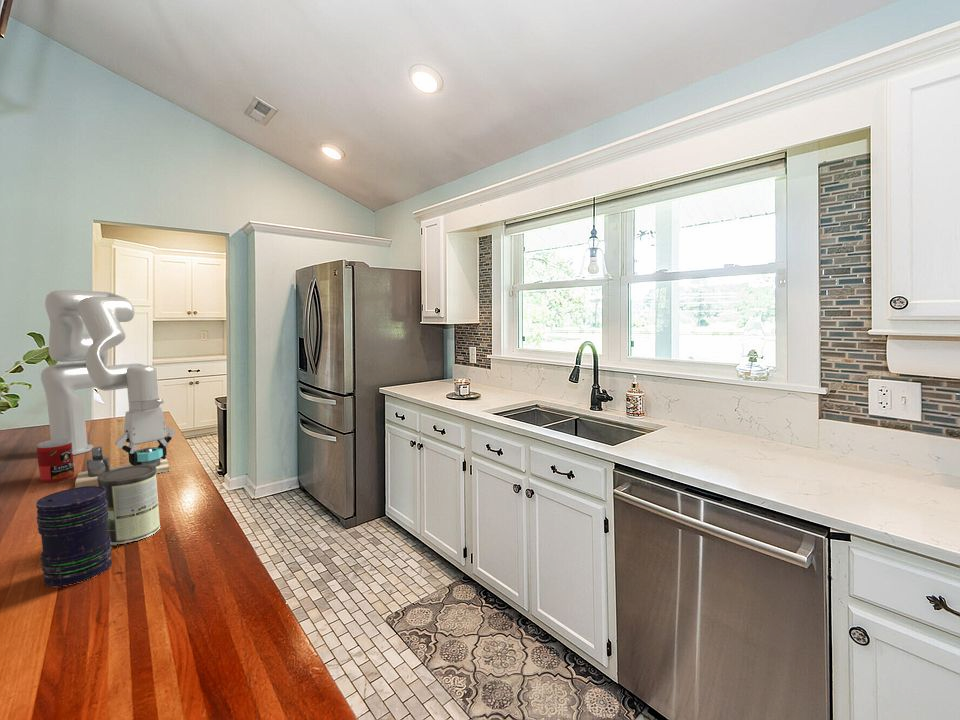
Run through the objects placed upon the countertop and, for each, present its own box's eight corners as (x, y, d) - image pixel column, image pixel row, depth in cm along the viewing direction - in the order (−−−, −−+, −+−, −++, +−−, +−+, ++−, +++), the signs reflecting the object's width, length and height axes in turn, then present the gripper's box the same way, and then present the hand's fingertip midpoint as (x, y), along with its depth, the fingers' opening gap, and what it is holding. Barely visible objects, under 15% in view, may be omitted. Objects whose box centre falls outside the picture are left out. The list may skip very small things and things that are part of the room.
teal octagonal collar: (130, 459, 142) (129, 451, 142) (155, 453, 148) (154, 446, 148) (140, 463, 139) (140, 455, 138) (166, 456, 145) (165, 449, 144)
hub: (136, 465, 144) (135, 448, 144) (160, 461, 148) (158, 444, 147) (136, 470, 140) (135, 452, 139) (160, 466, 143) (159, 449, 143)
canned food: (54, 483, 133) (50, 446, 132) (32, 481, 135) (28, 445, 134) (81, 474, 141) (78, 439, 140) (60, 472, 142) (57, 438, 141)
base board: (79, 477, 138) (78, 472, 138) (167, 462, 151) (167, 458, 151) (75, 488, 129) (74, 483, 129) (169, 471, 142) (169, 467, 142)
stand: (88, 473, 137) (86, 447, 136) (110, 470, 140) (108, 444, 139) (87, 478, 133) (85, 451, 132) (109, 474, 136) (107, 448, 135)
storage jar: (109, 553, 94) (103, 482, 92) (116, 572, 87) (109, 495, 85) (42, 572, 87) (34, 495, 85) (43, 594, 80) (35, 511, 78)
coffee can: (90, 547, 96) (84, 481, 95) (124, 524, 106) (119, 465, 105) (142, 544, 97) (137, 479, 96) (170, 522, 107) (166, 464, 106)
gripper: (168, 400, 151) (172, 452, 153) (104, 409, 136) (109, 467, 138) (180, 402, 147) (184, 456, 149) (116, 411, 133) (121, 471, 134)
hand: (148, 461), depth 144 cm, fingers closed on teal octagonal collar, 7 cm apart
